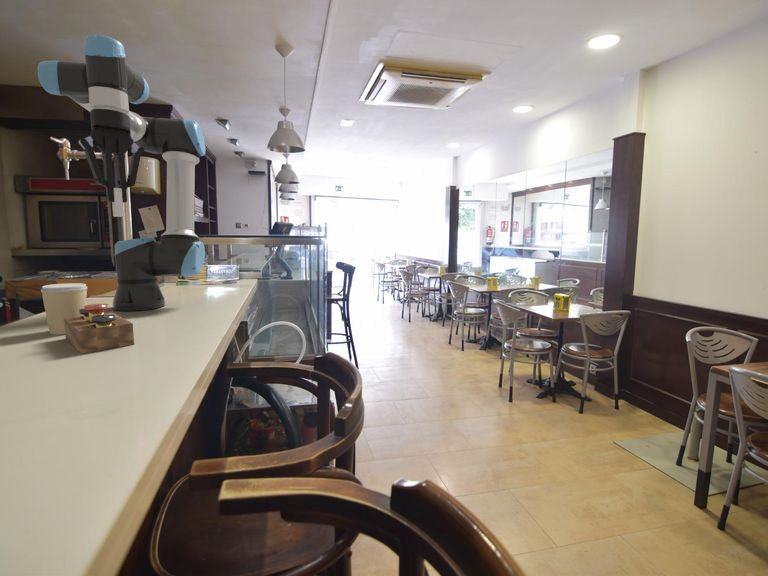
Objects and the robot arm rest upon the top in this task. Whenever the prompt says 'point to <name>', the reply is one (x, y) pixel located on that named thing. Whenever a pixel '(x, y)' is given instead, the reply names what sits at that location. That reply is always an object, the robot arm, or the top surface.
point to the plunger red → (95, 310)
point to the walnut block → (98, 334)
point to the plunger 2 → (103, 320)
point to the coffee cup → (63, 304)
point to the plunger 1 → (84, 313)
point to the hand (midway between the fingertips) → (118, 216)
